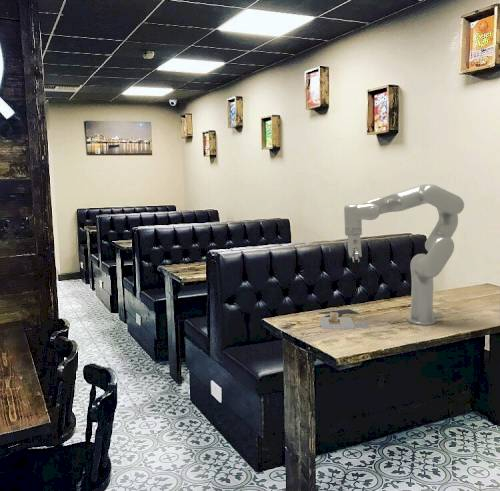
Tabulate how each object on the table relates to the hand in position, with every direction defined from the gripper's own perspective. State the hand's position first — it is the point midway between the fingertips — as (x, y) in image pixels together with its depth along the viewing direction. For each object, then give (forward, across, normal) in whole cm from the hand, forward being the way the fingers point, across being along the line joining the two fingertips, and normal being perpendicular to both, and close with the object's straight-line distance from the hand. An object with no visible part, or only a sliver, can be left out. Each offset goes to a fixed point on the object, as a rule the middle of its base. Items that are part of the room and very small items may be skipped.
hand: (354, 269), depth 231 cm
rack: (+25, -8, +7) cm, 27 cm away
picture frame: (+26, +12, +6) cm, 30 cm away
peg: (+25, -8, +11) cm, 29 cm away
